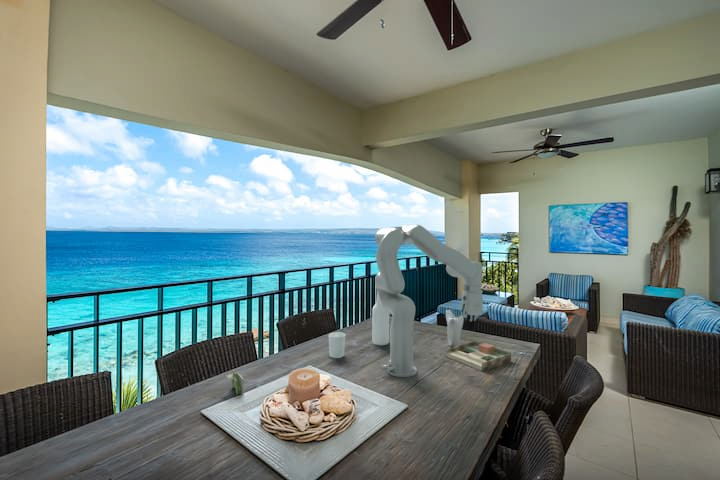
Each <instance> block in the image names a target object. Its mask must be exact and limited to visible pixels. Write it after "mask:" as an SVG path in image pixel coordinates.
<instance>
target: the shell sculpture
mask: <svg viewBox="0 0 720 480" xmlns="http://www.w3.org/2000/svg"><path fill="white" fill-rule="evenodd" d="M445 319H446V323H447V325H446V326H447V328H446V329H447V330H446V331H447V333H446V336H447V344H448V346H449V347H450V348H452V347H456V346H459V345H461V344H460V342H461V331H462V329H463V326H464V321H465V320H464V319H465V317H462V315H459V316H455V315H454V314H453V312H452V311H451V309H446V310H445Z"/></svg>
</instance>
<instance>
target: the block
mask: <svg viewBox="0 0 720 480" xmlns="http://www.w3.org/2000/svg"><path fill="white" fill-rule="evenodd" d="M494 347H495V345H493V344H490V343H487V342H484V343H483V344H480V345H479V351H480V352H483V353H485V354H491V353H494Z"/></svg>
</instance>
